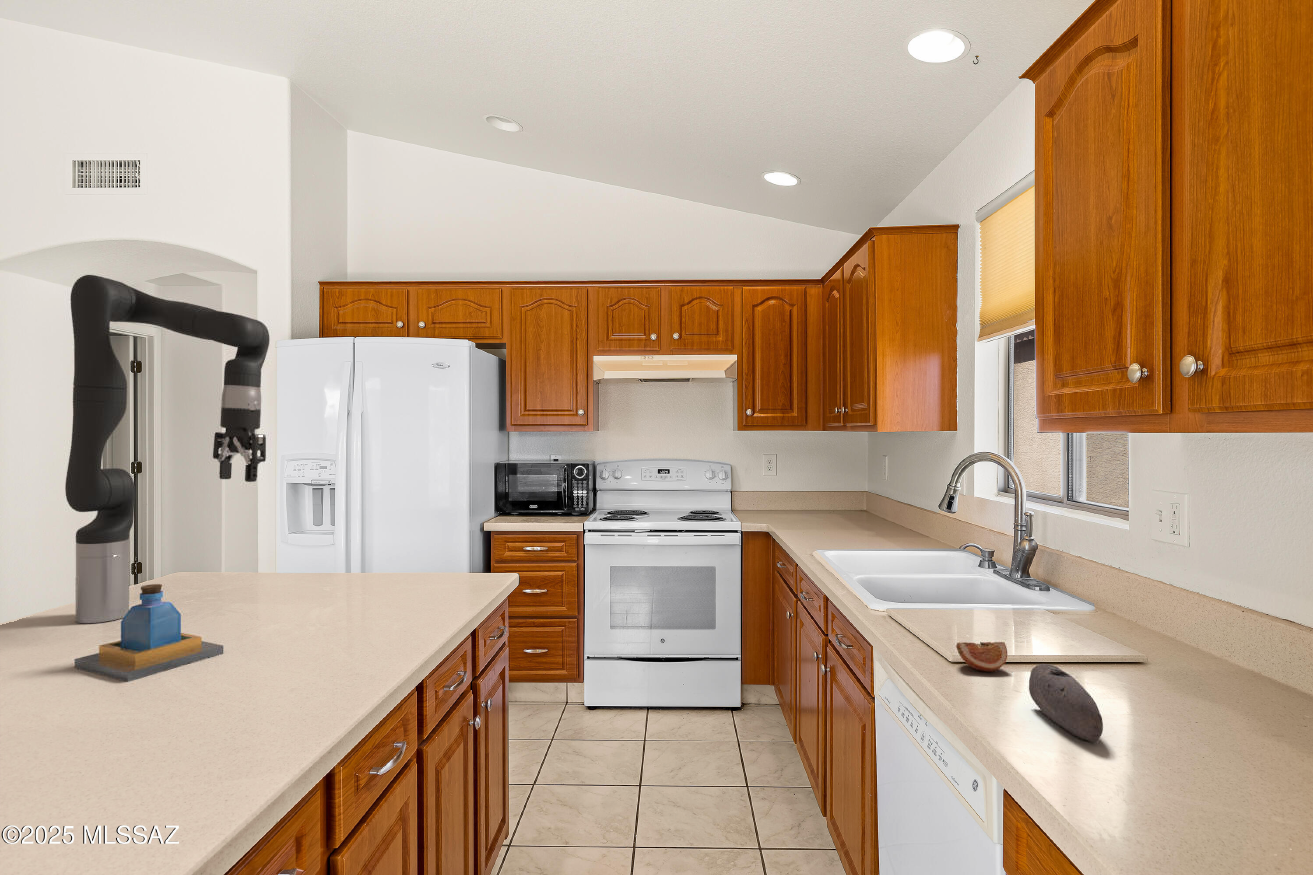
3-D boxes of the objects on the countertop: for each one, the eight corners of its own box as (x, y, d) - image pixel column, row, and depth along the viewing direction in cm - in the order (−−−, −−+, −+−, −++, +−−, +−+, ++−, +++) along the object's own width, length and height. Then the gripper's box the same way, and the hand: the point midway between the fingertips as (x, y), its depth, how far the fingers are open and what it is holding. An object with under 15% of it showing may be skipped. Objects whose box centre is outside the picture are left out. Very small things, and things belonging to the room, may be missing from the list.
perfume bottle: (180, 647, 126) (180, 582, 126) (150, 658, 120) (150, 590, 120) (152, 645, 127) (152, 581, 127) (120, 656, 121) (120, 589, 121)
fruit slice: (964, 675, 118) (964, 646, 117) (949, 662, 124) (949, 635, 124) (1013, 676, 117) (1013, 647, 117) (995, 663, 124) (995, 635, 124)
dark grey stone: (1118, 752, 89) (1118, 699, 89) (1076, 750, 90) (1076, 698, 90) (1061, 707, 104) (1061, 661, 104) (1025, 705, 105) (1025, 660, 105)
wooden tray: (74, 667, 120) (74, 647, 120) (171, 642, 134) (171, 624, 134) (127, 681, 113) (127, 660, 113) (223, 653, 127) (223, 634, 127)
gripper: (203, 405, 149) (200, 479, 149) (246, 406, 144) (242, 483, 144) (236, 407, 156) (233, 478, 156) (278, 408, 150) (275, 481, 150)
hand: (237, 480), depth 150 cm, fingers open, 8 cm apart
